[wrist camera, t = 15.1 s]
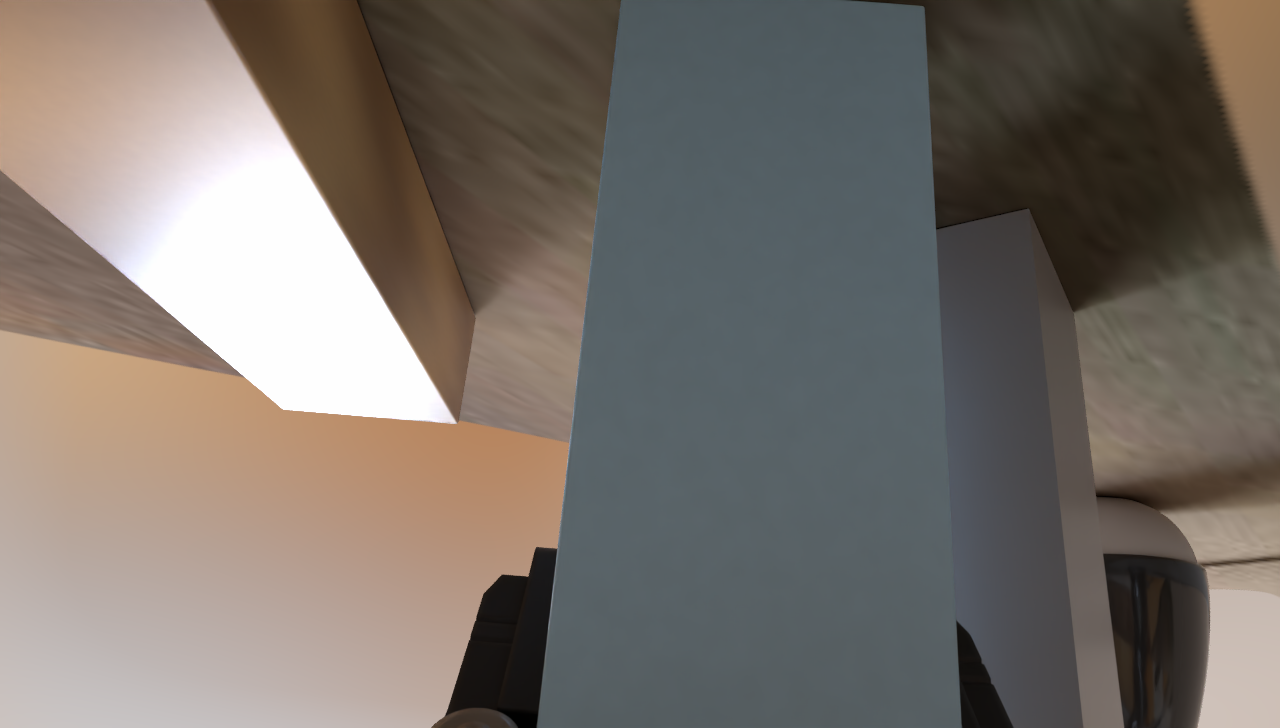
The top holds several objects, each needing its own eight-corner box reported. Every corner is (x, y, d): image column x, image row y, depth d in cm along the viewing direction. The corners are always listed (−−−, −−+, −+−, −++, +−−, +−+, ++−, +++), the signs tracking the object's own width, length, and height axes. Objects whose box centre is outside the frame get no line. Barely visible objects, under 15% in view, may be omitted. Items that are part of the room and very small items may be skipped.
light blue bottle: (622, 158, 18) (623, -20, 14) (848, 176, 18) (926, 4, 14) (516, 1166, 12) (450, 1463, 8) (858, 1199, 12) (1005, 1520, 7)
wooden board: (-365, -546, 9) (-584, -319, 8) (171, -502, 9) (51, -266, 8) (308, 303, 30) (282, 409, 28) (476, 317, 30) (458, 424, 28)
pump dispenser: (1121, 474, 41) (1166, 819, 36) (1233, 510, 46) (1289, 820, 41) (953, 502, 50) (969, 786, 44) (1063, 531, 54) (1090, 790, 49)
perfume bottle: (1074, 314, 26) (1159, 1020, 19) (862, 347, 30) (873, 951, 23) (1028, 208, 21) (1124, 1119, 14) (779, 265, 24) (764, 1009, 18)
